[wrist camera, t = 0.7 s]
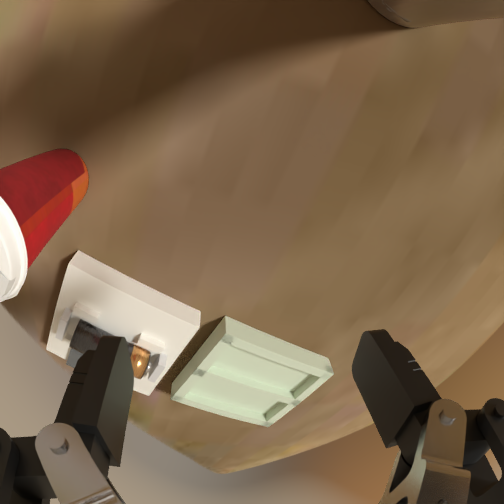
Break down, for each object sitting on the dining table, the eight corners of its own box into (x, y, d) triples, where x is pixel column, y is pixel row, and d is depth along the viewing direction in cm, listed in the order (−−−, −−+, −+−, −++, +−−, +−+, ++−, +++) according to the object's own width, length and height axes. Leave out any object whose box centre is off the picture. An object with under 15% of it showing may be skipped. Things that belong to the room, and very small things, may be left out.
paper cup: (21, 151, 22) (-84, 210, 10) (87, 125, 22) (-18, 167, 10) (45, 226, 26) (-34, 316, 14) (110, 208, 26) (39, 306, 14)
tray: (225, 315, 33) (226, 333, 30) (328, 358, 38) (333, 373, 35) (171, 382, 38) (170, 399, 35) (266, 412, 43) (268, 426, 40)
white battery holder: (78, 249, 28) (61, 273, 24) (200, 311, 32) (199, 340, 28) (53, 335, 33) (41, 359, 29) (151, 380, 37) (147, 407, 33)
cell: (83, 313, 29) (75, 328, 26) (156, 348, 31) (155, 365, 28) (74, 336, 29) (66, 352, 26) (145, 369, 32) (143, 387, 29)
